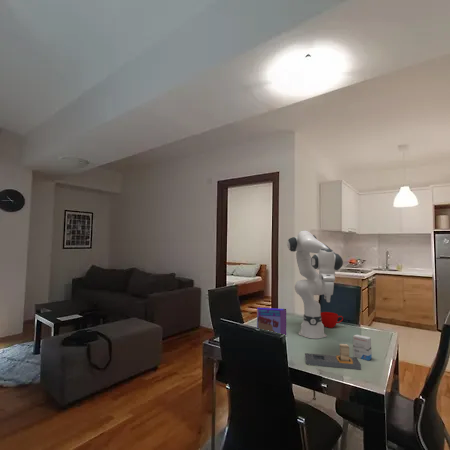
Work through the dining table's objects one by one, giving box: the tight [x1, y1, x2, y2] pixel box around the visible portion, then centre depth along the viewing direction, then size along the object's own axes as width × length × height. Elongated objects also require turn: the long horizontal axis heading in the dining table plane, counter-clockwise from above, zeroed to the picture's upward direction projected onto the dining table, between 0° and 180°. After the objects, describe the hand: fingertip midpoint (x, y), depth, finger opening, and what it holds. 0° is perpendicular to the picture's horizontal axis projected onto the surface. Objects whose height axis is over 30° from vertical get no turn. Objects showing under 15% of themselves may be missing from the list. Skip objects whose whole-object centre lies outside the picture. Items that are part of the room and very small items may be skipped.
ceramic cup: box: [321, 311, 344, 329], centre depth 231 cm, size 13×17×10 cm
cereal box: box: [256, 307, 287, 336], centre depth 179 cm, size 17×5×24 cm, turn 82°
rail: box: [304, 353, 362, 371], centre depth 158 cm, size 10×27×3 cm, turn 79°
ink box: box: [352, 334, 373, 362], centre depth 167 cm, size 9×5×12 cm, turn 45°
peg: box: [339, 343, 350, 361], centre depth 157 cm, size 4×4×10 cm
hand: (327, 300), depth 171 cm, fingers open, 8 cm apart
